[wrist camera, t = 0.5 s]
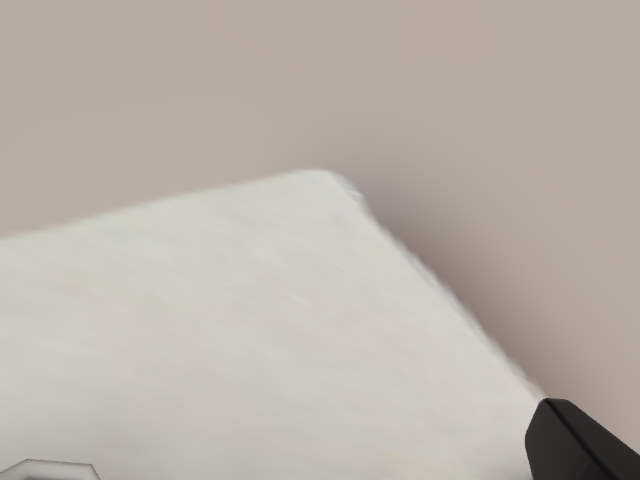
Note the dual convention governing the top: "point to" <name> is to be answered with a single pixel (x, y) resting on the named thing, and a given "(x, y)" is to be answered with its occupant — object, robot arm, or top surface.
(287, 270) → the top surface
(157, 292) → the top surface
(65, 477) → the flask
